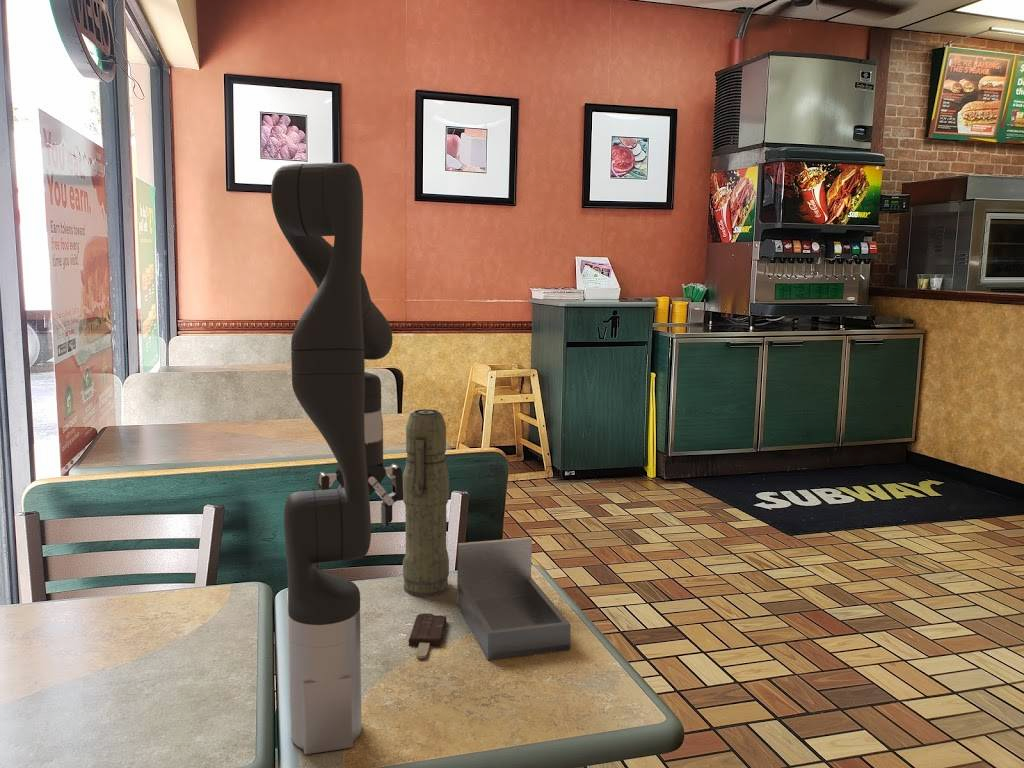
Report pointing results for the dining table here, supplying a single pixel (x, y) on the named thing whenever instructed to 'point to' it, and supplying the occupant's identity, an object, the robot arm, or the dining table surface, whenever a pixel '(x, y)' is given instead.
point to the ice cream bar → (427, 633)
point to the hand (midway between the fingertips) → (361, 528)
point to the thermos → (425, 504)
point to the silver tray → (507, 601)
